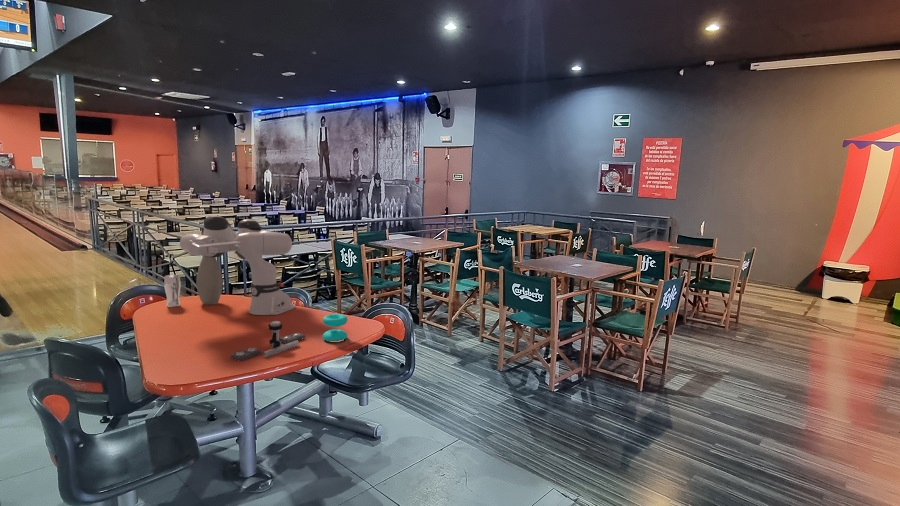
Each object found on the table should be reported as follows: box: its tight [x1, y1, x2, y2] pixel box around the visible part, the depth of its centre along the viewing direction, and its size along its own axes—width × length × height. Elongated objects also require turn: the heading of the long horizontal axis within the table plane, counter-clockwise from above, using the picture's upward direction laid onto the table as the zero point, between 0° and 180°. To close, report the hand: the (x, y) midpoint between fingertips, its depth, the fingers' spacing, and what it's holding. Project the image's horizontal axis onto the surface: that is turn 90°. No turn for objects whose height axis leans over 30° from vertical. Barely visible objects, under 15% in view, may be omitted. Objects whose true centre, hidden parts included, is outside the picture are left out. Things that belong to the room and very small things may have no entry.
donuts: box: [322, 313, 348, 342], centre depth 199 cm, size 10×10×10 cm
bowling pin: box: [195, 230, 223, 306], centre depth 241 cm, size 11×12×38 cm
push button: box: [267, 320, 284, 349], centre depth 188 cm, size 7×5×10 cm
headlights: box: [230, 332, 306, 362], centre depth 186 cm, size 31×9×2 cm, turn 150°
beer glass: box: [163, 274, 182, 308], centre depth 237 cm, size 7×7×15 cm
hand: (229, 249), depth 199 cm, fingers open, 8 cm apart
